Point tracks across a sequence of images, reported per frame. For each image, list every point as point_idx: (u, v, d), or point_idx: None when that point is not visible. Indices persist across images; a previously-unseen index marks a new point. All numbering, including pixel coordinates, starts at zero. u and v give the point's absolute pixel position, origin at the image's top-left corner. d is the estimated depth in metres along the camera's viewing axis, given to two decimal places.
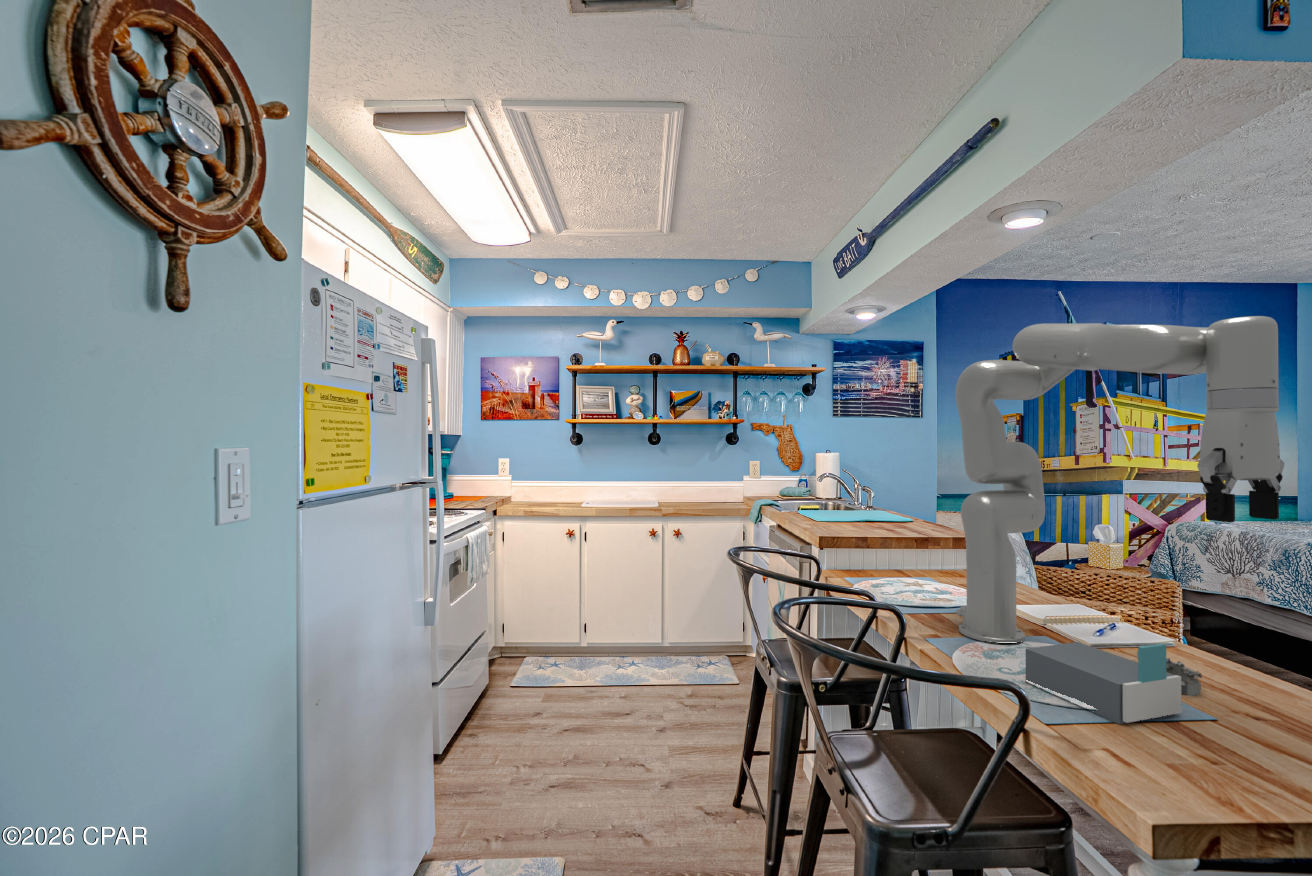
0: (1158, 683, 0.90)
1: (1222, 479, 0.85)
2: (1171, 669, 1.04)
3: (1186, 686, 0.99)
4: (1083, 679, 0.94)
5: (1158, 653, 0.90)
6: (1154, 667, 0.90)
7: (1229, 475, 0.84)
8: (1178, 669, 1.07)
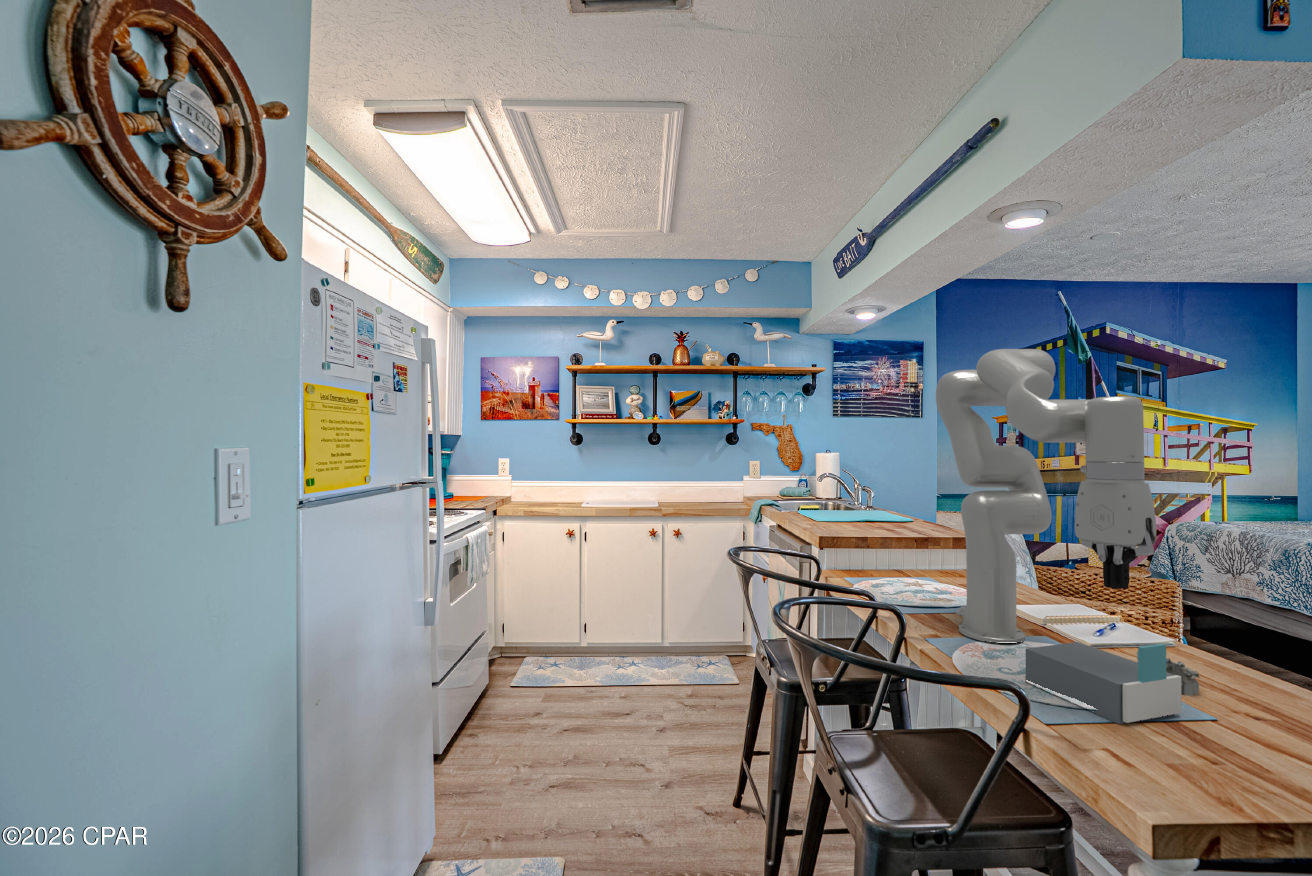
0: (1158, 683, 0.90)
1: None
2: (1171, 669, 1.04)
3: (1183, 686, 0.99)
4: (1083, 679, 0.94)
5: (1158, 653, 0.90)
6: (1154, 667, 0.90)
7: (1133, 547, 0.93)
8: (1178, 669, 1.07)
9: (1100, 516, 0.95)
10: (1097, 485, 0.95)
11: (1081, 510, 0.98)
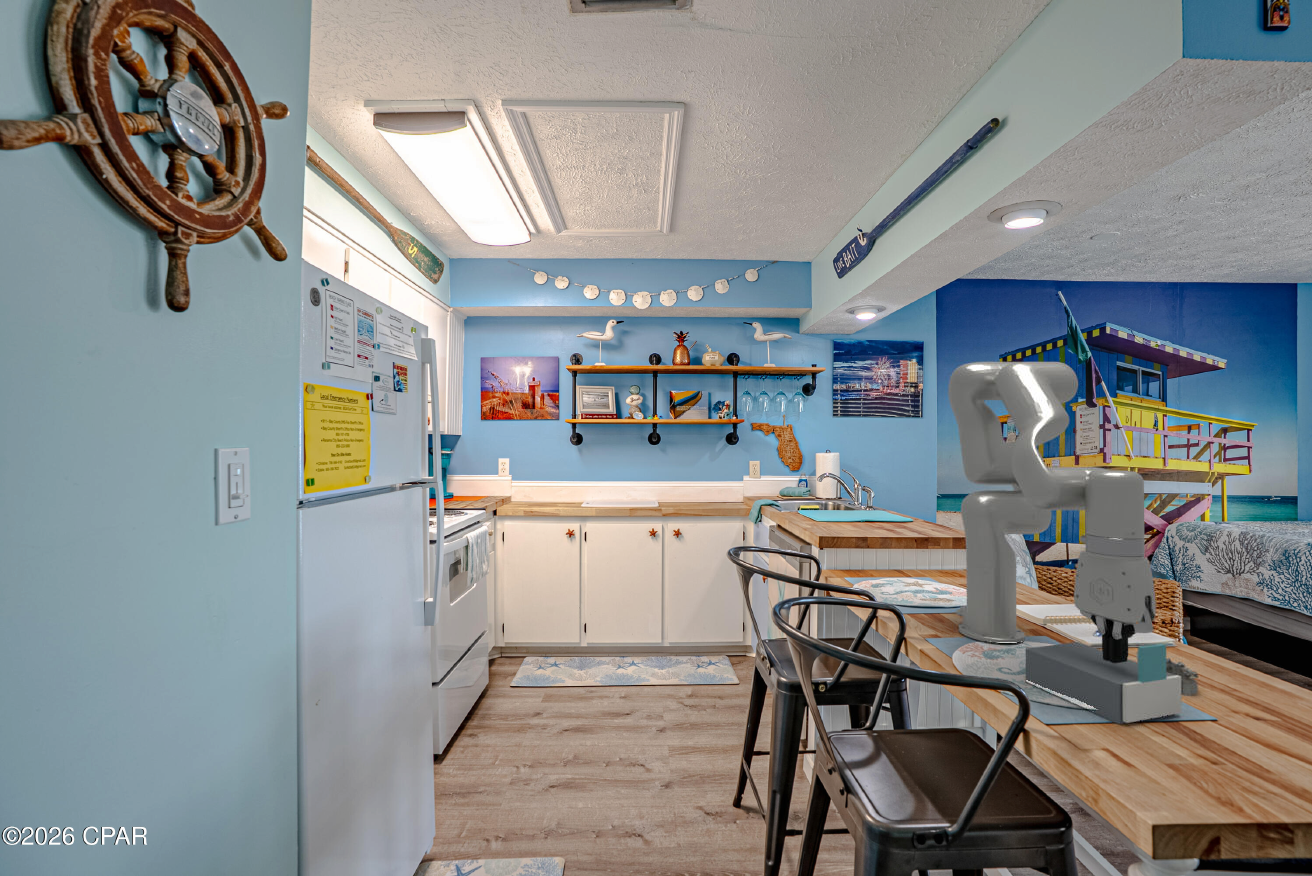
0: (1158, 683, 0.90)
1: None
2: (1170, 669, 1.05)
3: (1182, 686, 0.99)
4: (1083, 679, 0.94)
5: (1158, 653, 0.90)
6: (1154, 667, 0.90)
7: None
8: (1178, 670, 1.07)
9: (1100, 590, 0.95)
10: (1097, 558, 0.95)
11: (1081, 581, 0.98)
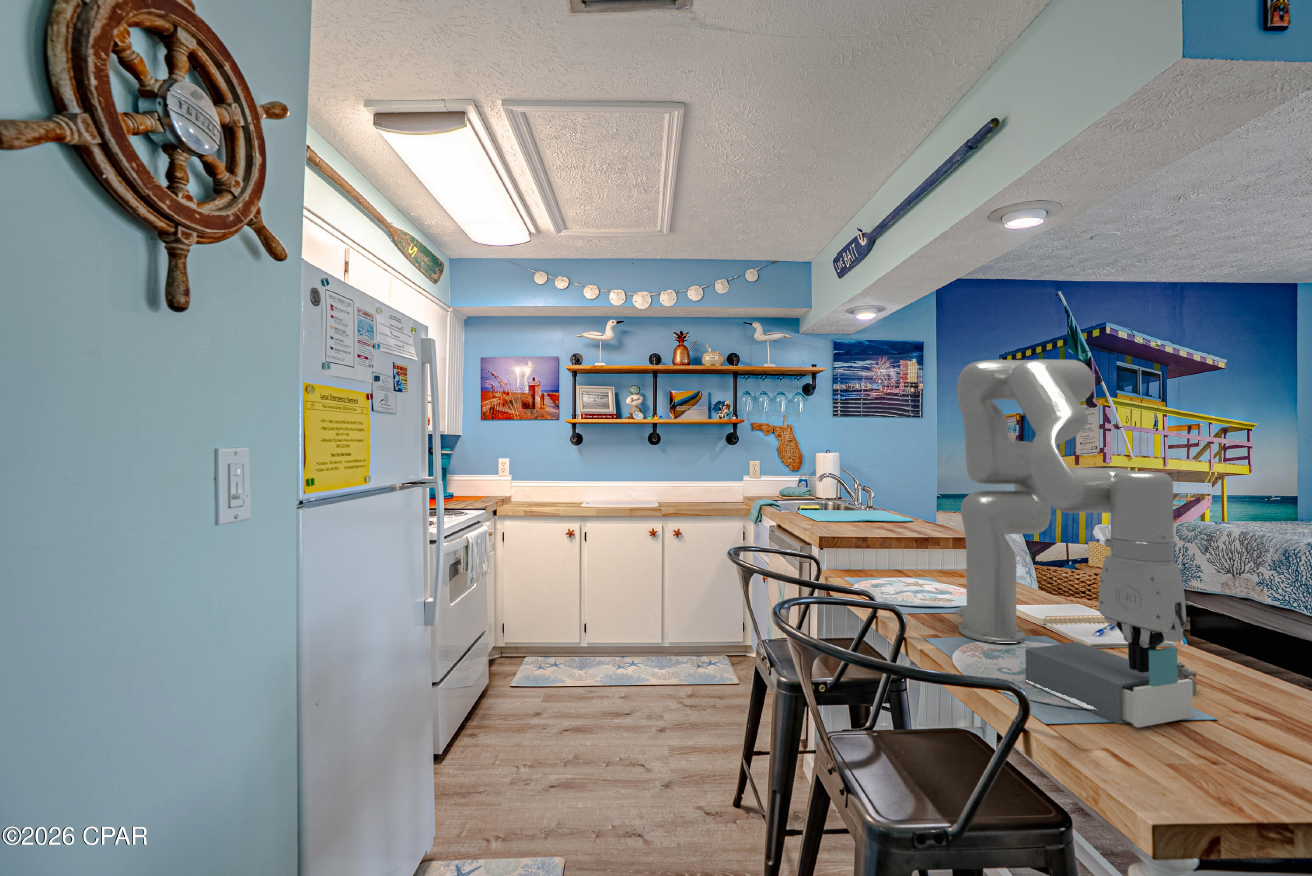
0: (1169, 687, 0.88)
1: None
2: None
3: None
4: (1083, 679, 0.94)
5: (1169, 656, 0.88)
6: (1166, 671, 0.88)
7: None
8: (1178, 670, 1.07)
9: (1126, 597, 0.91)
10: (1124, 563, 0.91)
11: (1106, 587, 0.94)
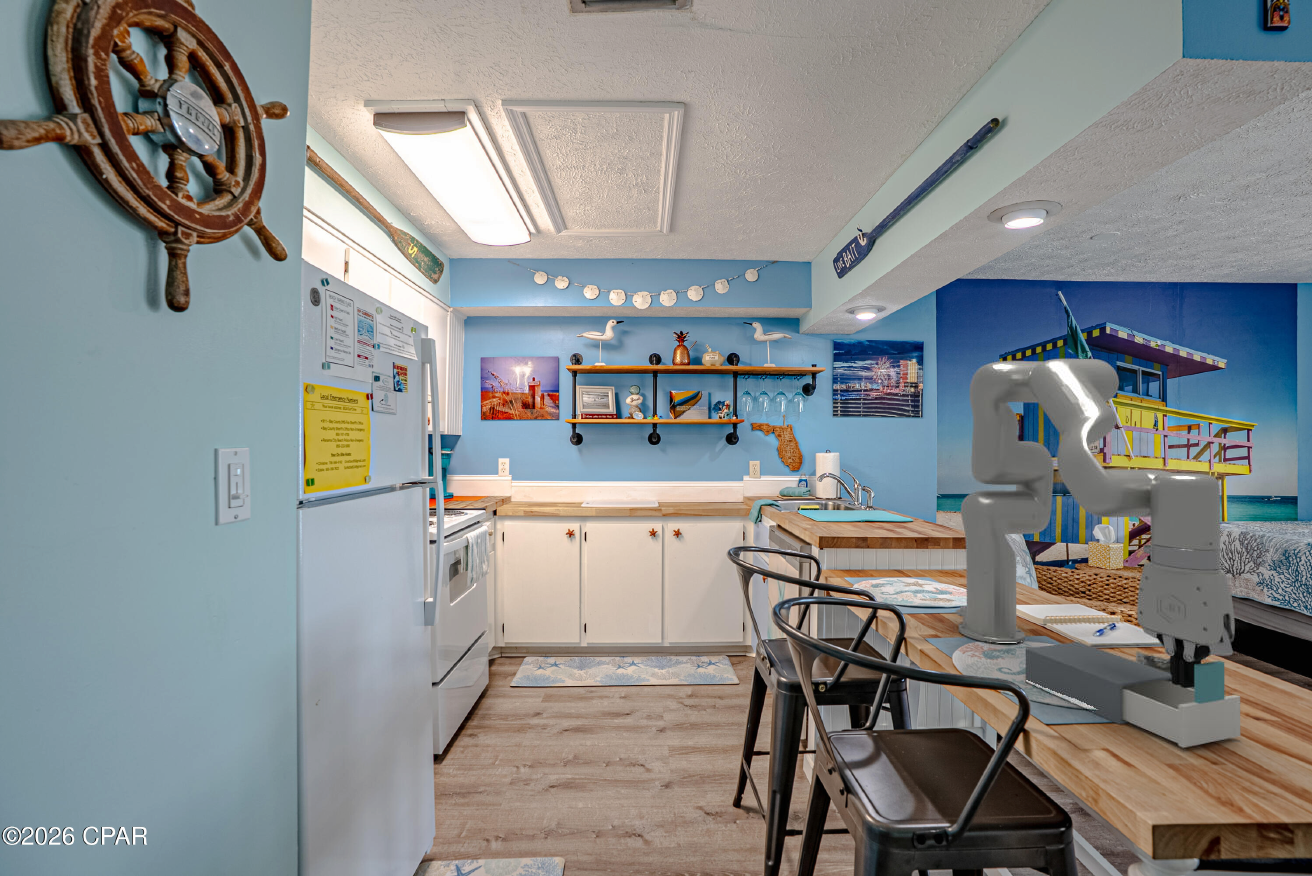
0: (1216, 704, 0.83)
1: None
2: (1169, 669, 1.05)
3: None
4: (1083, 679, 0.94)
5: (1216, 671, 0.83)
6: (1212, 687, 0.83)
7: None
8: None
9: (1169, 607, 0.85)
10: (1166, 571, 0.86)
11: (1145, 596, 0.88)
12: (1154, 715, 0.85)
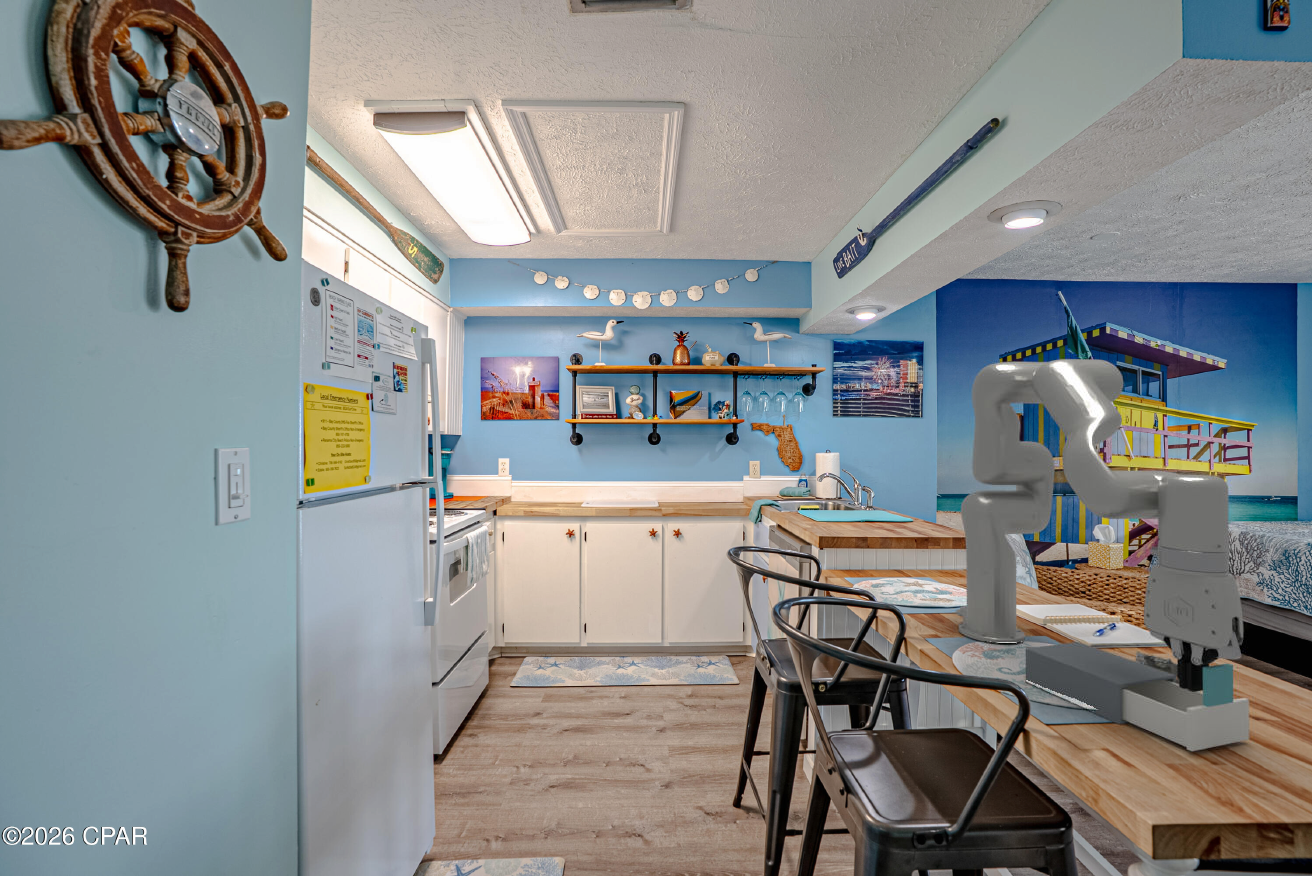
0: (1224, 707, 0.82)
1: None
2: (1168, 669, 1.05)
3: None
4: (1083, 679, 0.94)
5: (1224, 674, 0.82)
6: (1221, 689, 0.82)
7: None
8: None
9: (1177, 610, 0.84)
10: (1173, 573, 0.85)
11: (1152, 599, 0.87)
12: (1162, 718, 0.84)
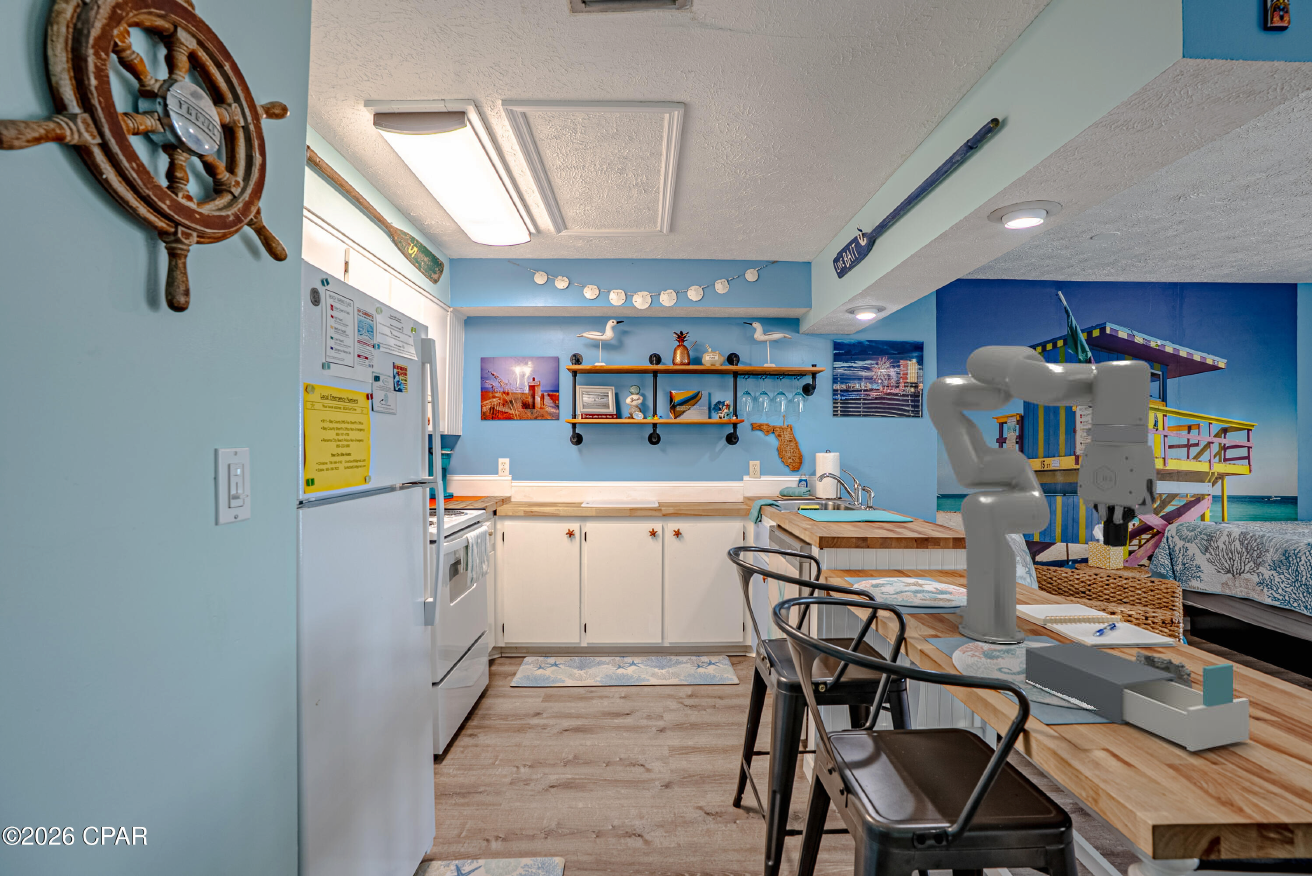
0: (1224, 707, 0.82)
1: None
2: (1167, 669, 1.05)
3: None
4: (1083, 679, 0.94)
5: (1224, 674, 0.82)
6: (1221, 689, 0.82)
7: (1133, 507, 0.97)
8: (1178, 670, 1.06)
9: (1103, 477, 0.98)
10: (1102, 447, 0.98)
11: (1084, 471, 1.01)
12: (1162, 718, 0.84)
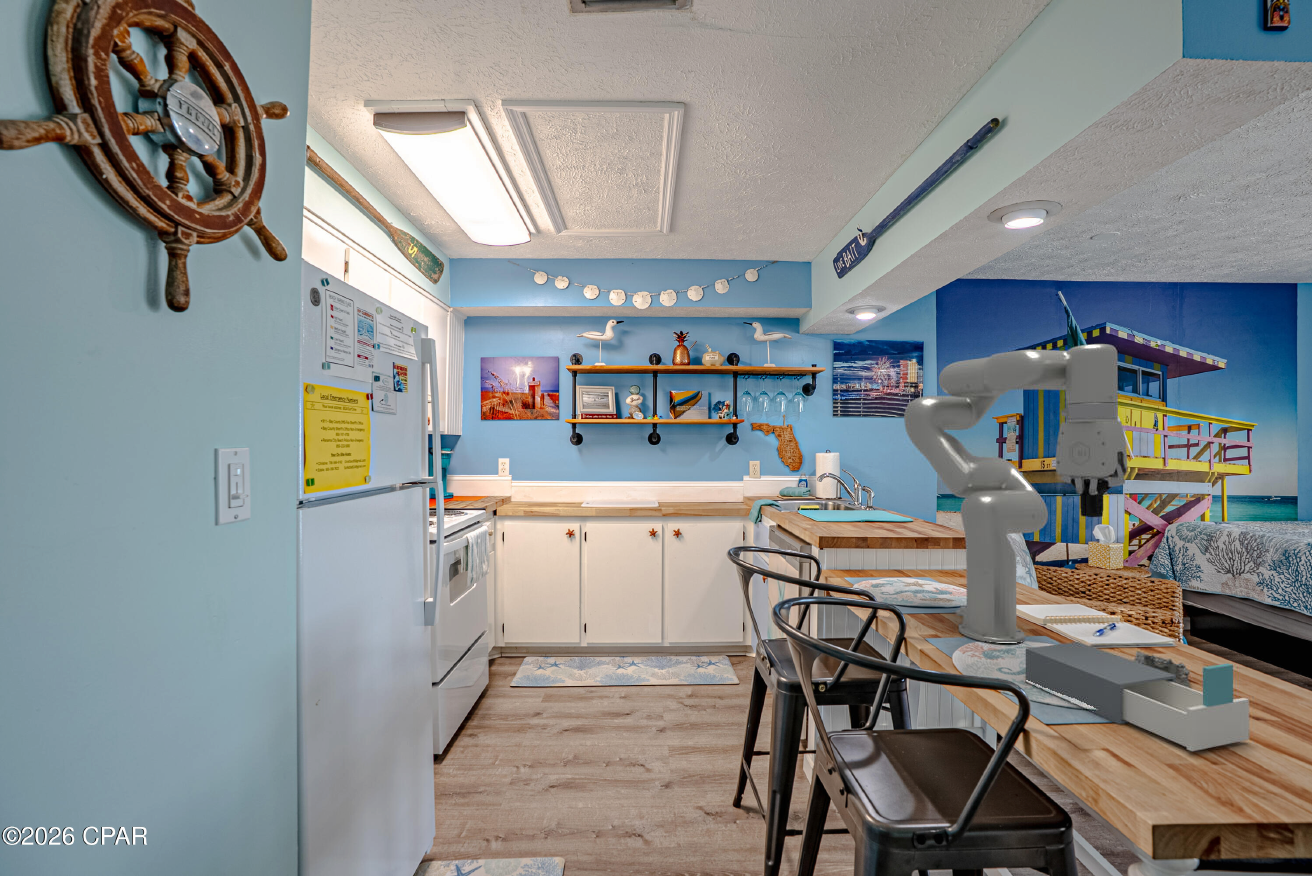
0: (1224, 707, 0.82)
1: None
2: (1166, 669, 1.05)
3: None
4: (1083, 679, 0.94)
5: (1224, 674, 0.82)
6: (1221, 689, 0.82)
7: (1107, 480, 1.04)
8: None
9: (1078, 452, 1.05)
10: (1076, 424, 1.06)
11: (1061, 448, 1.09)
12: (1162, 718, 0.84)
